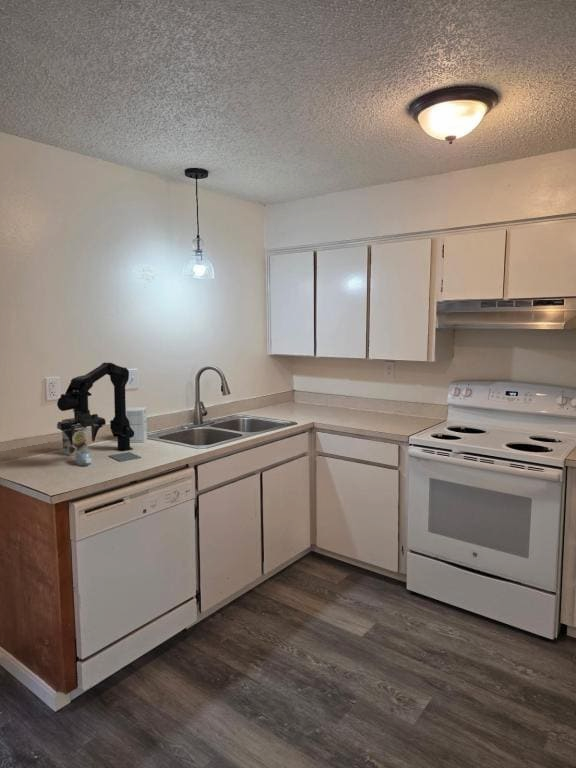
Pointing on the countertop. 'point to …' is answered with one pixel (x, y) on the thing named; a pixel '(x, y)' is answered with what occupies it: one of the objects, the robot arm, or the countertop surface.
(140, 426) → the supplement box
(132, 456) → the mat
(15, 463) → the countertop surface
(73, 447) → the coffee box
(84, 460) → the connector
